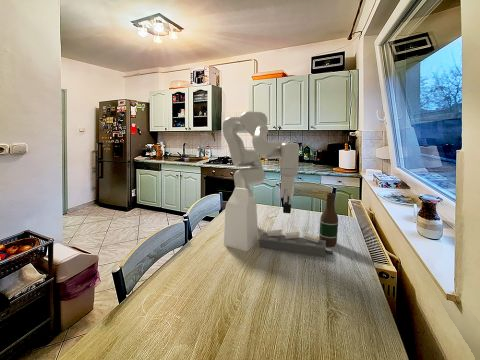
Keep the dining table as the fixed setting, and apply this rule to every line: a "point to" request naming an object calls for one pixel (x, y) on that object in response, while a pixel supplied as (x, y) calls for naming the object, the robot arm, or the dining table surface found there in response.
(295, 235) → the rocker mid
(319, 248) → the power strip
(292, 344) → the dining table surface
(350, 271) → the dining table surface
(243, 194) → the milk
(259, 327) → the dining table surface
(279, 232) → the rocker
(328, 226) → the beer bottle
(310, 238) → the rocker
